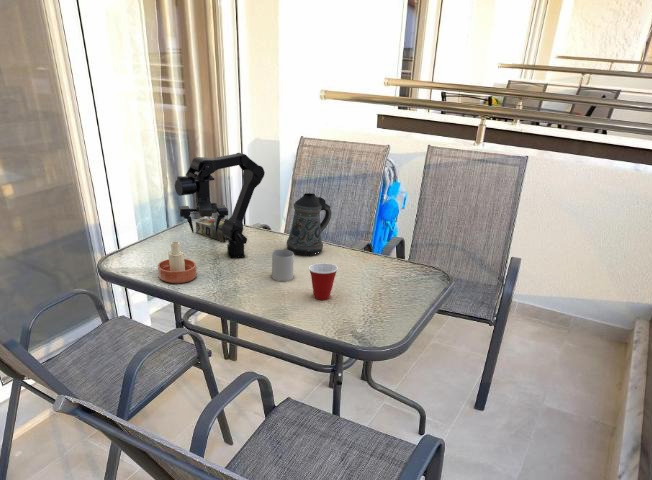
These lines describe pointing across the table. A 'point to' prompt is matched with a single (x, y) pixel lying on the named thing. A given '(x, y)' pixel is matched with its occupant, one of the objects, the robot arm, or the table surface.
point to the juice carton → (210, 229)
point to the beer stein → (308, 225)
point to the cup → (282, 265)
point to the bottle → (176, 257)
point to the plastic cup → (322, 279)
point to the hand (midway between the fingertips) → (204, 232)
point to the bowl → (179, 275)
